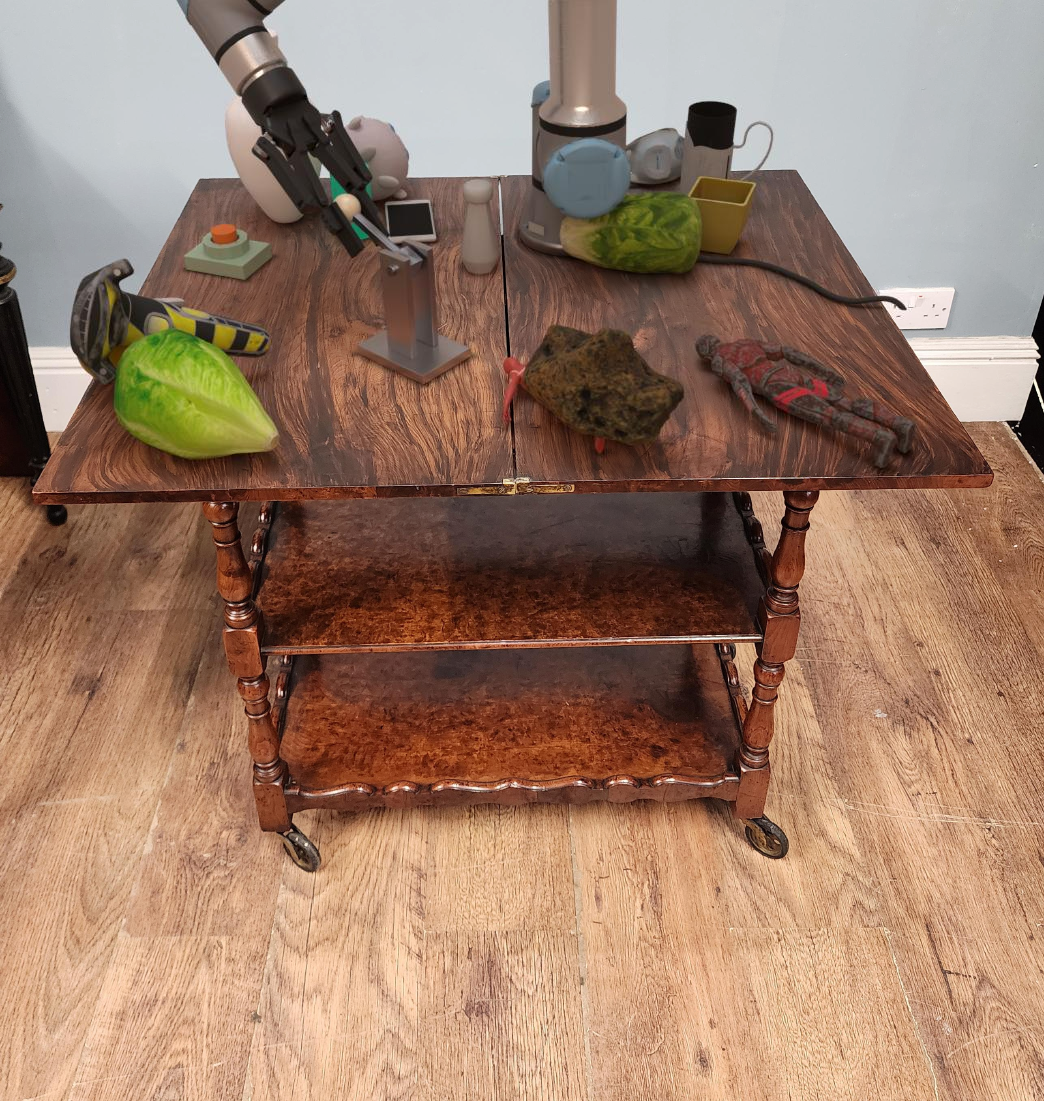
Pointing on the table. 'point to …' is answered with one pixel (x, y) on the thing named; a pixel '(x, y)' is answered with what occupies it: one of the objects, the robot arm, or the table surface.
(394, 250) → the lever
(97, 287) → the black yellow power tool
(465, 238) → the salt shaker
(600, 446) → the figurine
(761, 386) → the figurine
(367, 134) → the toy
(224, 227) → the button
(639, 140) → the white rounded ceramic body
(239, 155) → the vase
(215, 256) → the button block
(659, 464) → the table surface
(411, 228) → the smartphone
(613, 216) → the lettuce
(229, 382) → the lettuce
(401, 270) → the bracket
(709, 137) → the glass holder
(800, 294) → the table surface
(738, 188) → the flower pot
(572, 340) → the rock
